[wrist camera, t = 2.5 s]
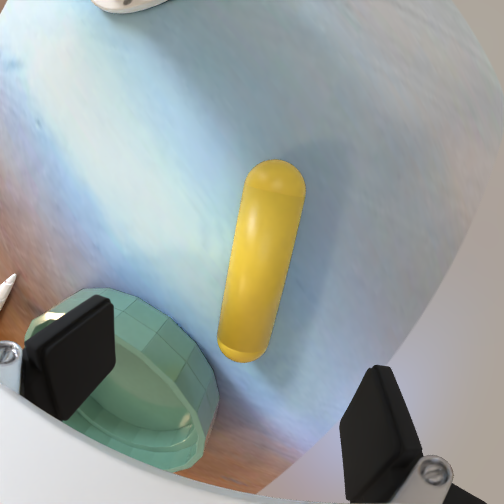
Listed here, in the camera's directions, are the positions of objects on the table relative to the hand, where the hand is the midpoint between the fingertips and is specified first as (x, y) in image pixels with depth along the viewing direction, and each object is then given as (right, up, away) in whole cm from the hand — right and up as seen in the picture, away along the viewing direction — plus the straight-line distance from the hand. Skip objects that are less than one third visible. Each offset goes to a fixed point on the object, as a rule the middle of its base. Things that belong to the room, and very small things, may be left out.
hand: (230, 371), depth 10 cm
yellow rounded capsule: (+1, +3, +11) cm, 11 cm away
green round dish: (-11, -8, +15) cm, 20 cm away
